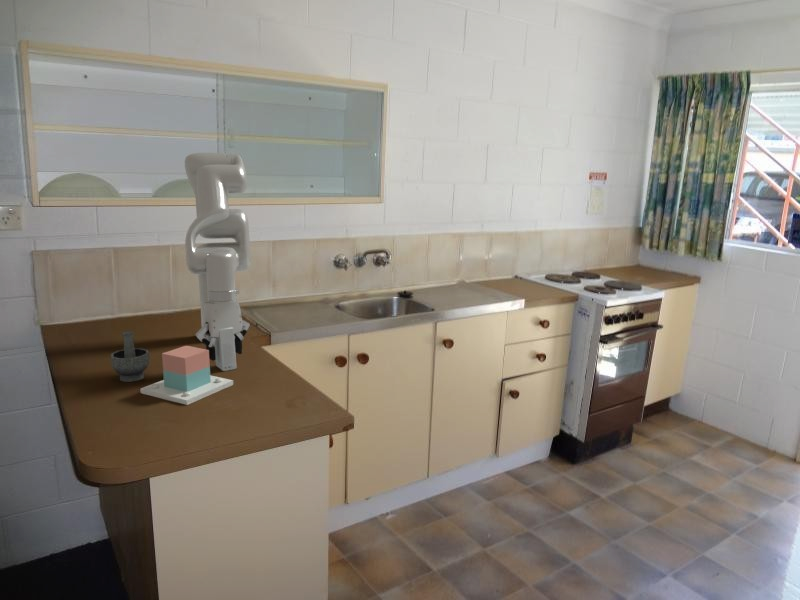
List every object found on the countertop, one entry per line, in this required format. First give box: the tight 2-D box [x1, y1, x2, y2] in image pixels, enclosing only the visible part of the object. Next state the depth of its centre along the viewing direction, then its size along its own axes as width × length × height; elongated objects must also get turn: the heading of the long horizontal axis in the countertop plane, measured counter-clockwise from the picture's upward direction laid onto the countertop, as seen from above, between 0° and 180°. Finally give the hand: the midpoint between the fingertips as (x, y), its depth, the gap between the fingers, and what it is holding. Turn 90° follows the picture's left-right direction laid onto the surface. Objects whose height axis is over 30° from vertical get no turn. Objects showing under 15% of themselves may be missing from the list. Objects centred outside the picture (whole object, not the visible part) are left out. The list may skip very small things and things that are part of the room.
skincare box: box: [213, 328, 237, 372], centre depth 173 cm, size 6×4×12 cm
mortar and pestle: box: [110, 330, 150, 383], centre depth 164 cm, size 11×9×12 cm
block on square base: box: [139, 345, 234, 406], centre depth 156 cm, size 16×16×10 cm
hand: (224, 355), depth 173 cm, fingers open, 7 cm apart
